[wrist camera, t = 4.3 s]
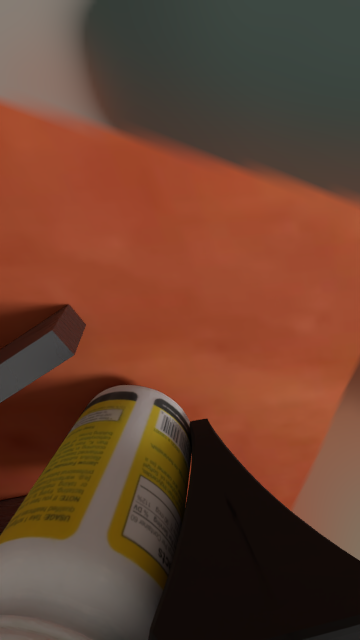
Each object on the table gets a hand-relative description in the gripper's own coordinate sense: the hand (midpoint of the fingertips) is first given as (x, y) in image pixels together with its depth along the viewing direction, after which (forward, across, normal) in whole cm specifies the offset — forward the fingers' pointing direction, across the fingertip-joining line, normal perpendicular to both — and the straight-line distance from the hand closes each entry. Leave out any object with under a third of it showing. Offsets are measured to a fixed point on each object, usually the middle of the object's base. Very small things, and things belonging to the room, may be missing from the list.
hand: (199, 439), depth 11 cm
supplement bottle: (+2, +2, 0) cm, 3 cm away
